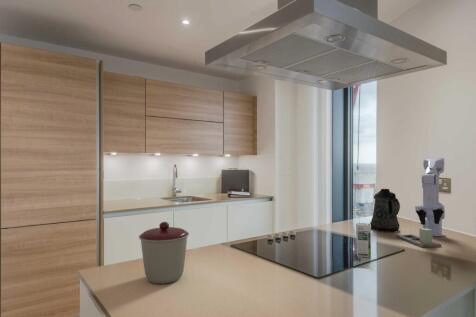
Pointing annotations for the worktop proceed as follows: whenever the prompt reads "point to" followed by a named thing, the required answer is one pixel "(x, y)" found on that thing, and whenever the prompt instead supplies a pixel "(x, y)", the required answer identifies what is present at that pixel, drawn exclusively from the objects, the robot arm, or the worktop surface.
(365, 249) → the syrup box
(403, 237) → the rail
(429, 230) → the peg
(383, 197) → the beer stein
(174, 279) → the canister
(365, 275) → the worktop surface
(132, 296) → the worktop surface
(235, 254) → the worktop surface
